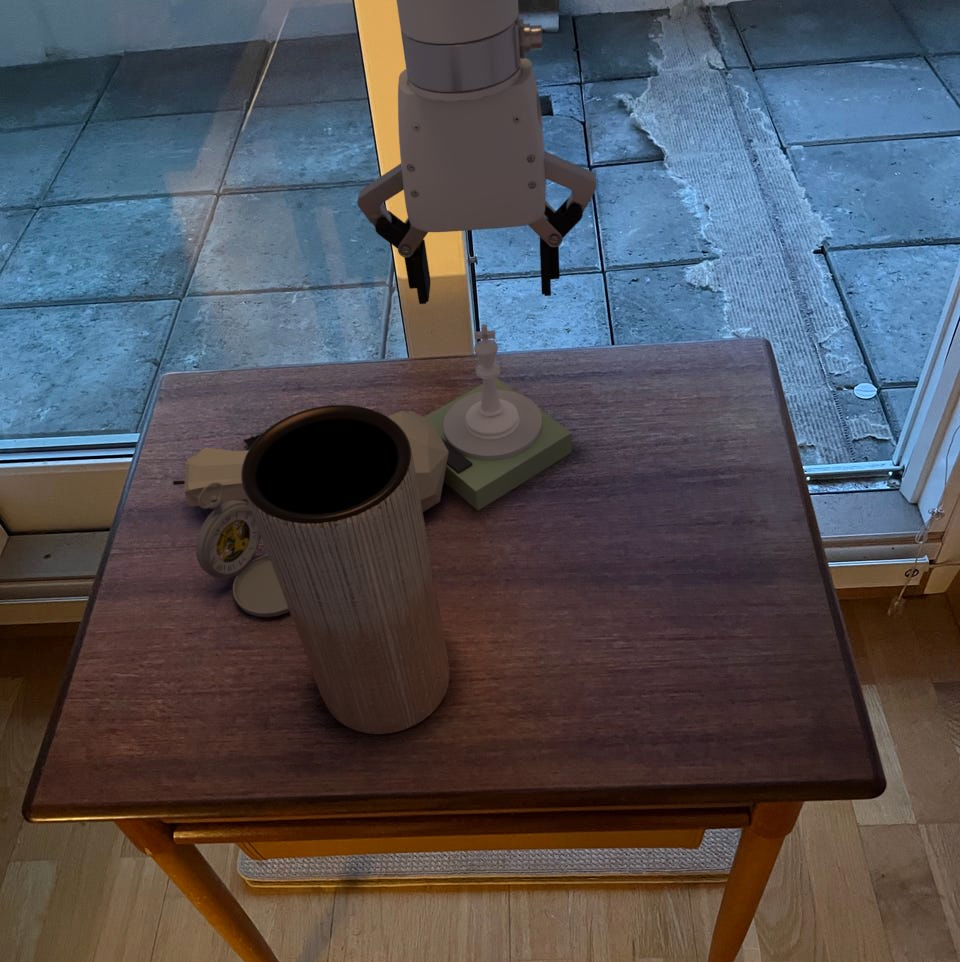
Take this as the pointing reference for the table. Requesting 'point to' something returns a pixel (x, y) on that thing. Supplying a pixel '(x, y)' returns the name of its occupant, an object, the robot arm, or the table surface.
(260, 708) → the table surface
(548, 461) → the scale
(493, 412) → the chess piece
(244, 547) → the pocket watch
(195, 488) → the faceted club
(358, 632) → the planter
